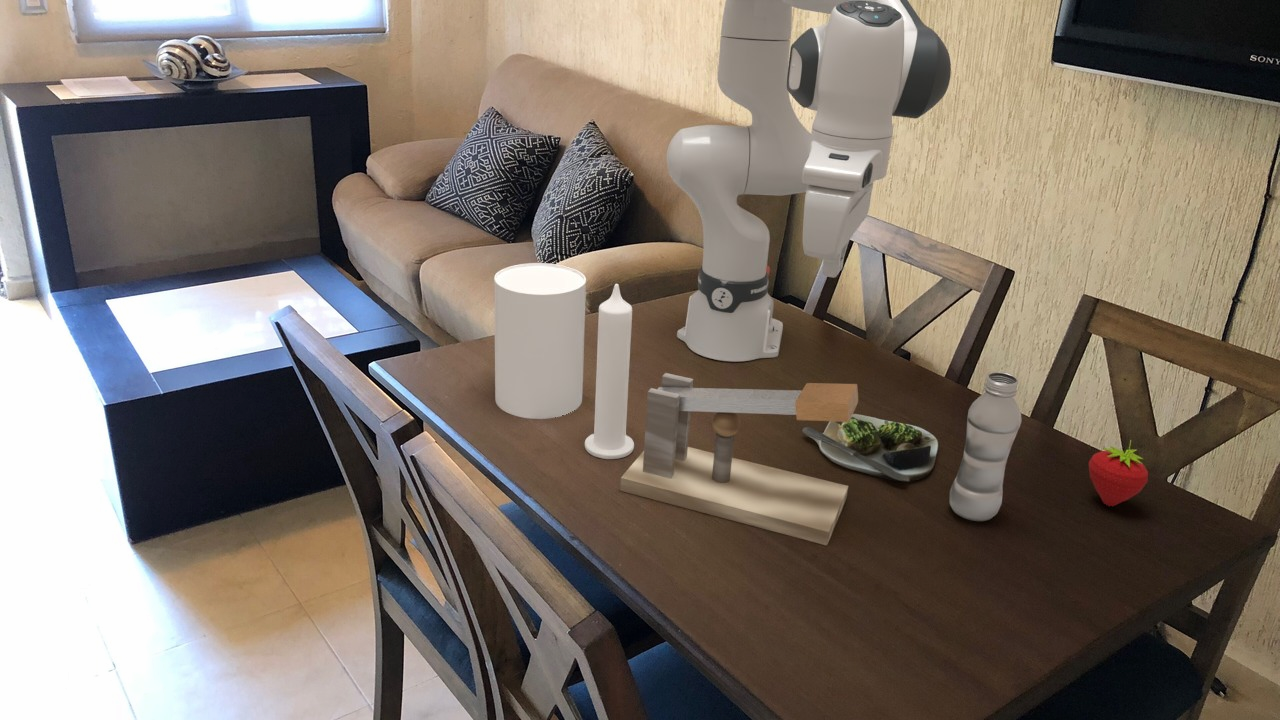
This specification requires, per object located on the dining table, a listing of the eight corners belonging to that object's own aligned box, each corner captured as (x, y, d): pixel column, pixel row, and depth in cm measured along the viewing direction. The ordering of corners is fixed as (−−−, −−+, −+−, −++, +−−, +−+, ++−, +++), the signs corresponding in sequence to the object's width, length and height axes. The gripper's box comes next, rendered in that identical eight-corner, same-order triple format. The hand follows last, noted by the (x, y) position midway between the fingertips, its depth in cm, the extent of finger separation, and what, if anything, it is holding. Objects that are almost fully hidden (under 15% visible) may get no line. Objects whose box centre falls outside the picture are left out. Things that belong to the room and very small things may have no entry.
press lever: (664, 396, 136) (662, 380, 135) (858, 401, 126) (857, 384, 125) (648, 414, 131) (646, 397, 130) (848, 421, 121) (847, 403, 120)
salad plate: (787, 463, 143) (790, 435, 141) (817, 412, 158) (821, 386, 157) (924, 498, 137) (930, 469, 135) (942, 441, 152) (947, 414, 150)
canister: (479, 407, 153) (477, 284, 145) (519, 373, 165) (519, 257, 157) (560, 426, 149) (563, 300, 141) (595, 389, 161) (600, 272, 153)
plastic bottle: (936, 504, 135) (963, 370, 126) (977, 497, 137) (1007, 364, 129) (966, 531, 129) (997, 392, 121) (1008, 523, 132) (1042, 386, 123)
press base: (653, 450, 144) (659, 362, 138) (846, 498, 135) (861, 406, 129) (620, 490, 134) (625, 397, 128) (826, 545, 125) (842, 447, 119)
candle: (628, 462, 140) (637, 296, 130) (579, 455, 142) (584, 289, 131) (638, 439, 147) (647, 278, 136) (591, 432, 148) (597, 272, 138)
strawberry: (1089, 486, 141) (1106, 423, 137) (1144, 508, 137) (1164, 444, 133) (1072, 501, 137) (1089, 437, 133) (1128, 524, 133) (1148, 459, 129)
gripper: (839, 136, 122) (824, 244, 128) (798, 171, 105) (783, 295, 110) (891, 143, 120) (874, 253, 126) (859, 180, 103) (840, 306, 108)
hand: (831, 273), depth 118 cm, fingers closed
